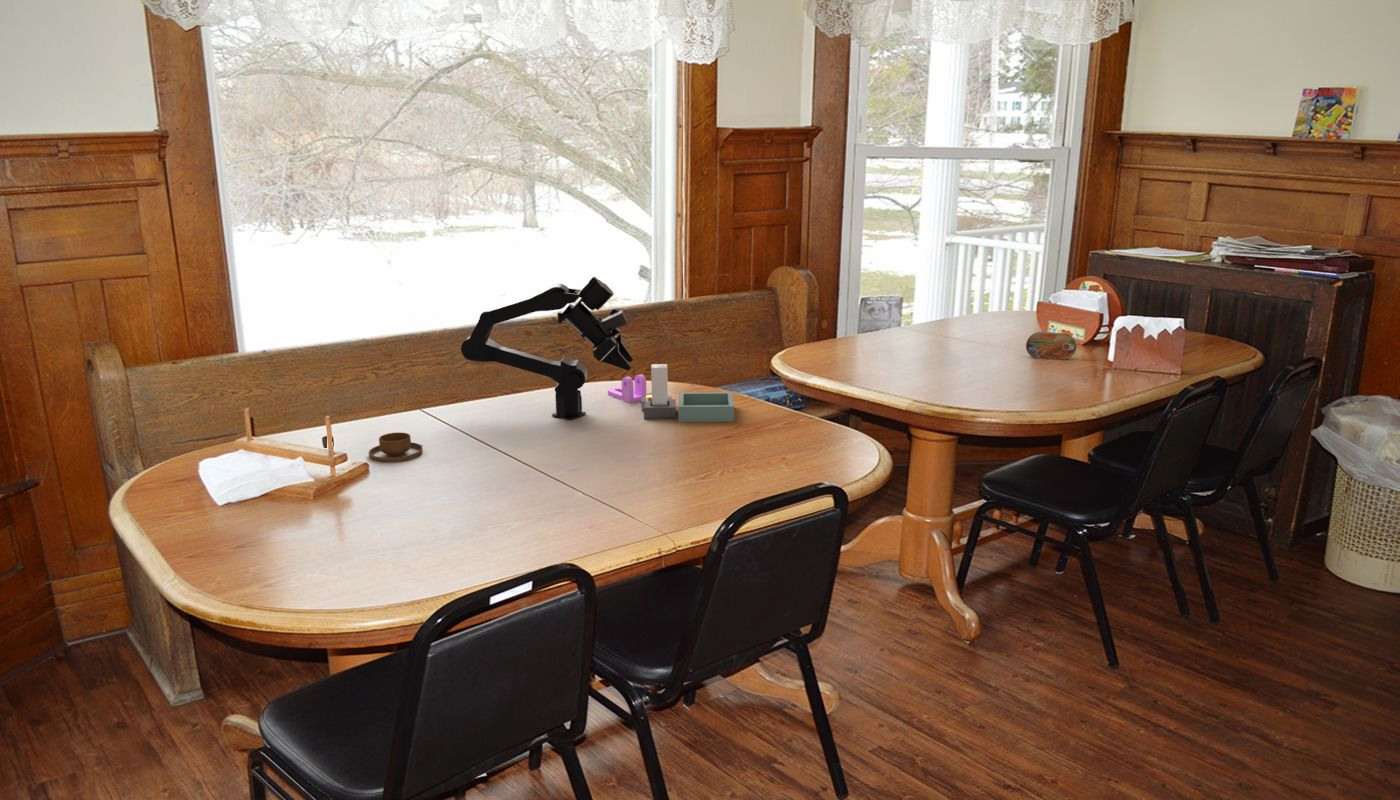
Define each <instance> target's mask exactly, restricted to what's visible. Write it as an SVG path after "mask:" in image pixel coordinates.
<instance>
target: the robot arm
mask: <svg viewBox="0 0 1400 800" xmlns="http://www.w3.org/2000/svg"><path fill="white" fill-rule="evenodd" d="M614 295H615V294H614V292H613V290H612V289H611V288H610V287H609V286H608V285H607V284H606V283H605V282H603V281H602V280H600V279H599V278H597V277H596V276H595V275H594V276H592V277H591V278H590V279H589V280H588V283H587V284H586V285H584V287H583V288H582V289H577V288H569V287H568V286H567V285H566V284H563V283H560V282H559V283H555V284H552V285H551V286H548V287H547V288H544V289H543V290H541V291H539V292H538V293H536V294H534V295H532V296H528V297H525V298H523V299H520V300H515V301H513V302H510V303H506V304H504V305H500V306H496V307H493V308H487V309H485V310H484V311H483V312H482V313H480V315H479V319H478V321H477V323H476V324H475V327H474V329H473V331H472V332H471V334H470V335H469V336H468V337H467V338H466V339H465V340H464V341H463V342H462V343H461V348H460V351H461V354H462V356H463V358H464V359H466V360H467V361H472V362H479V363H480V362H481V363H499V364H502V365H505V366H508V367H513V368H516V369H520V370H523V371H527V372H530V373H533V374H537V375H540V376H543V377H547V378H550V379H552V380H553V382H556V383H557V384H556V385H555V387H554V392H555V412H554V413H551V417H554V418H555V417H556V418H561V419H566V420H573V419H575V418H579V417H582V416H585V415H587V412H586V411H583V403H582V402H583V401H582V399H583V398H582V393H581V392H582V391H581V388H583V386H584V384H585V382H586V381H587V377H588V369H587V367H586V366H585V364H583V363H581V362H579V361H580V360H579V359H573V358H570V357H567V356H565V355H564V356H562V359H561V360H551V359H548V358H545V357H540V356H537V355H534V354H531V353H527V352H523V351H520V350H517V349H512V348H509V347H507V346H506V347H505V346H503V345H500V344H499V343H498V342H496V341H494V340H493V339H492V338H490V335H491V333H492V331H493V328H494V326H495V325H497V324H500V323H504V322H507V321H511V320H513V319H516V318H519V317H523V316H525V315H529V314H532V313H536V312H549V311H557V310H561V309H564V308H565V307H566V306H567V305H568V306H567V307H566V308H565V309H564V310H563V311H557V313H556V315H557V324H559V325H561V324H562V323H563V321H565V320H566V321H567V322H568V323H570V325H571V326H572V327H574V328H575V329H576V330H577V331H578V333H580V337H582V338H583V339H584V338H585V339H586V340H588V341H589V342H590V343H591V344H592V348H593V352H592V353H593V355H592V356H593V357H594V359H596V361H598V362H601V363H605V364H609V365H611V366H615V367H617V368H620V369H622V370H625V371H631V369H632V367H631V365H630V363H632V362H633V361H634V358H633V356H632V355H631V353H630V352H629V351H628V349H627V348H626V346H625V344H624V343H623V340H622V332H621V329H620V327H624V326H626V325H627V324H628V319H627V315H626V313H625V312H624V310H623V309H620V310H619V309H618V308H615V307H614V308H612V309H611V310H610V312H609V313H610V315H608V316H607V317H605V318H602V317H601V316H598V315H597V316H596V315H595V314H594V313H593V312H592V311H594V310H596V311H600V309H601V308H602V307H603V306H605V304H606V303H607V302H608V301H609V300H610V299H611V298H612V297H613V296H614ZM579 298H580V299H579ZM578 299H579V300H578ZM576 301H577V302H576ZM574 303H575V304H574ZM579 389H580V390H579Z"/></svg>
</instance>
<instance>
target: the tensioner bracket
mask: <svg viewBox="0 0 1400 800" xmlns="http://www.w3.org/2000/svg"><path fill="white" fill-rule="evenodd" d="M640 404H641V405H640V407H641V411H642V412H643V420H675V419H676V415H677V412H676V408H677V406H676V404H677V403H676V399H673V396H669V395H668V406H652V392H650V393H649V392H648V393H647V394H646V395H645V397H642V400H641V401H640Z"/></svg>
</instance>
